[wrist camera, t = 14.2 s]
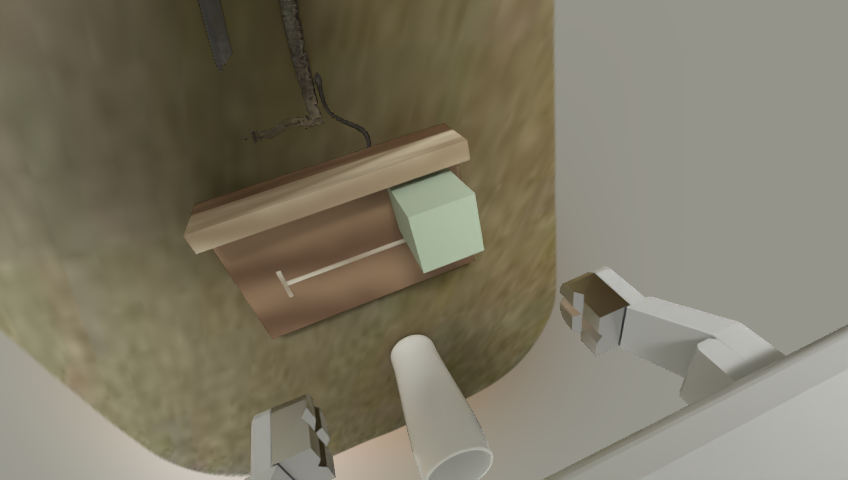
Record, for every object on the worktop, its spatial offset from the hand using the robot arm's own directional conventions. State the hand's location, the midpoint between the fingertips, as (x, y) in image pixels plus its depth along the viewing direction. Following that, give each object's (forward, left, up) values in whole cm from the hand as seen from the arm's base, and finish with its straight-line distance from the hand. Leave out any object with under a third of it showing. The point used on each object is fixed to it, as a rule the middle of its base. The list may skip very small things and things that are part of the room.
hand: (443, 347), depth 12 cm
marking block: (+7, +5, -22) cm, 23 cm away
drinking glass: (+27, 0, -24) cm, 36 cm away
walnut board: (+9, -2, -24) cm, 25 cm away
